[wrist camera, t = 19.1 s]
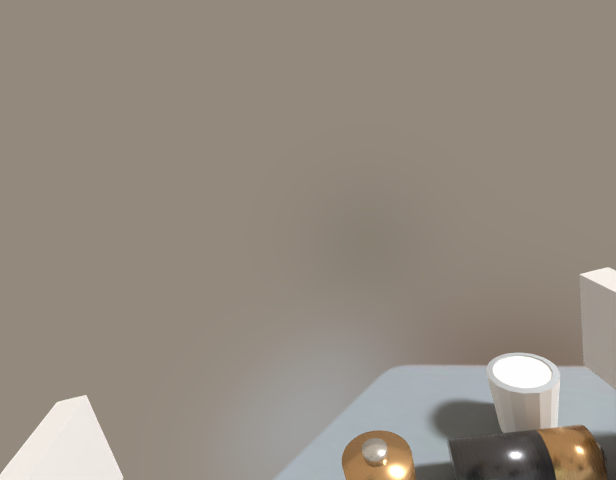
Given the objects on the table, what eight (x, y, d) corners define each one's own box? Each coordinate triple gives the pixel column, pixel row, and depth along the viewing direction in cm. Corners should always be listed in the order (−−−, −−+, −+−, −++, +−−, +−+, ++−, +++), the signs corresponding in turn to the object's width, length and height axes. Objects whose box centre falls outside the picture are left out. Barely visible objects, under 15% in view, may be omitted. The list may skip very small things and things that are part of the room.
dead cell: (464, 512, 38) (457, 469, 36) (451, 467, 43) (444, 427, 41) (618, 500, 36) (617, 453, 34) (586, 454, 40) (584, 411, 39)
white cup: (482, 409, 49) (475, 358, 47) (542, 398, 48) (537, 346, 47) (510, 455, 42) (503, 398, 40) (579, 443, 42) (575, 384, 40)
